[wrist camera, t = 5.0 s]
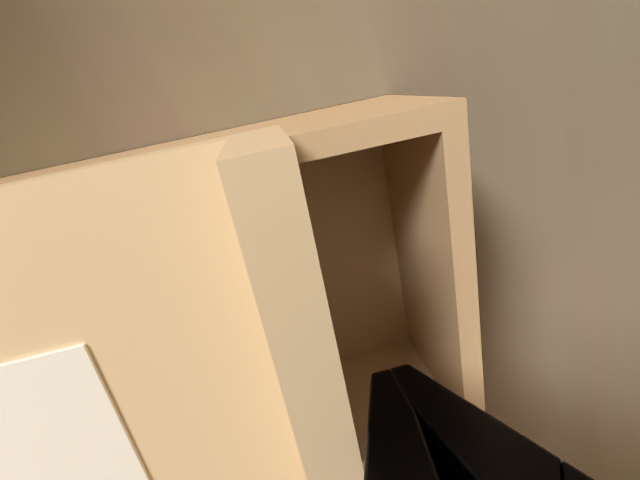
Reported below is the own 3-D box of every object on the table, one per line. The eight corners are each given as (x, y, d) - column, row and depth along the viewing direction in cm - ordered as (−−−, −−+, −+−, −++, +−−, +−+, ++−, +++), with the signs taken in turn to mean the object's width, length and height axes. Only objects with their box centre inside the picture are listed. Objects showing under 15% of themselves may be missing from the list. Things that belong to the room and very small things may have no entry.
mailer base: (388, 94, 14) (466, 97, 9) (418, 339, 18) (486, 441, 13) (-9, 180, 13) (-177, 237, 8) (110, 420, 17) (47, 567, 12)
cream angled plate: (278, 124, 8) (293, 143, 5) (361, 494, 12) (397, 627, 9) (-494, 291, 7) (-1023, 433, 4) (-134, 638, 11) (-277, 843, 8)
